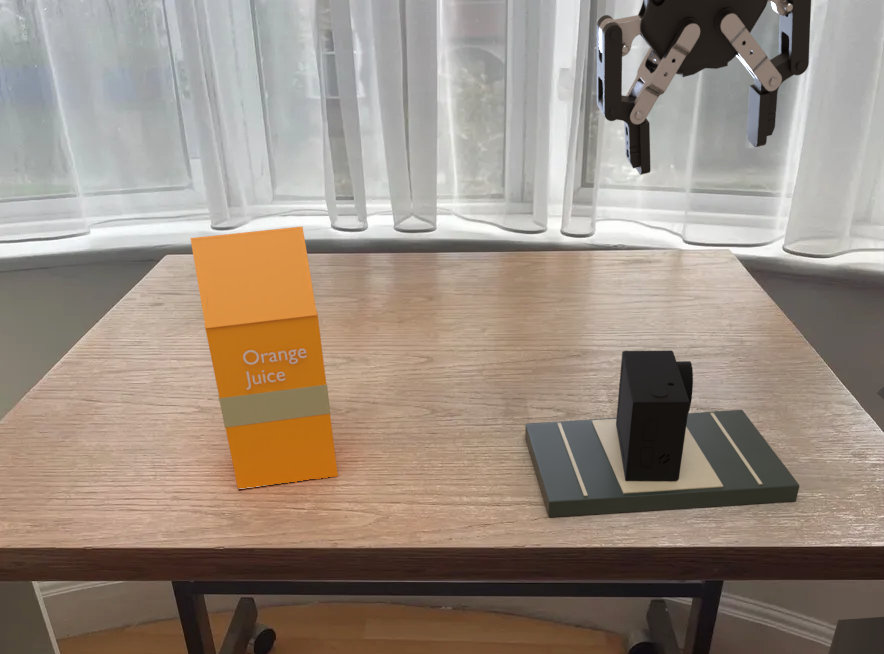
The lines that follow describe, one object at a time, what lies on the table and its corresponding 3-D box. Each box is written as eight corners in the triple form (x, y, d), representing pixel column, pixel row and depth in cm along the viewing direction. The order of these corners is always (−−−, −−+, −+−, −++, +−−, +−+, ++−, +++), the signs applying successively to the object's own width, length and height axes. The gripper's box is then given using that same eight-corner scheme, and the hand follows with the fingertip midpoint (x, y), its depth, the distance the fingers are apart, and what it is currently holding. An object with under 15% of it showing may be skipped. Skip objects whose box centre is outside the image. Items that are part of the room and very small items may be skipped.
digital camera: (694, 482, 72) (706, 401, 68) (625, 482, 73) (633, 401, 68) (677, 424, 80) (687, 348, 76) (615, 424, 81) (622, 349, 77)
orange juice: (234, 450, 83) (189, 225, 71) (328, 437, 85) (300, 214, 73) (237, 491, 77) (188, 252, 65) (339, 477, 79) (309, 239, 66)
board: (739, 424, 83) (742, 408, 82) (796, 501, 72) (800, 484, 71) (525, 437, 83) (525, 422, 82) (548, 517, 72) (549, 500, 71)
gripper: (602, -69, 53) (616, 200, 65) (845, -134, 52) (815, 152, 64) (576, -93, 58) (593, 160, 70) (797, -152, 57) (777, 115, 69)
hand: (699, 156), depth 67 cm, fingers open, 8 cm apart
